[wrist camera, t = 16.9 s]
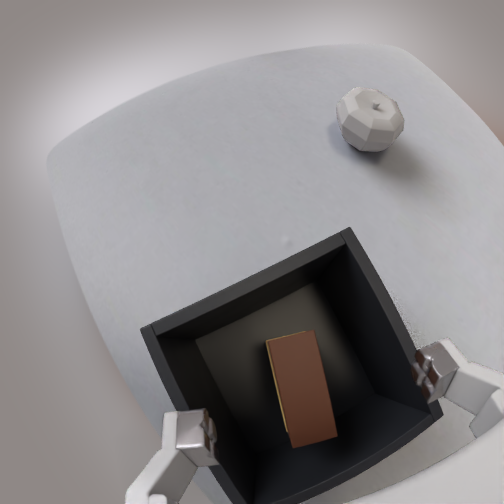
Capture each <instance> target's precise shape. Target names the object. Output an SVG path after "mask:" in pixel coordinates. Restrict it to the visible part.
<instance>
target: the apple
mask: <svg viewBox="0 0 504 504" xmlns="http://www.w3.org/2000/svg"><path fill="white" fill-rule="evenodd" d="M336 109H337V119H338V123H339V126H340V129H341V133H342V136H343V137H344V139H345V141H346V142H348V143H349V144H351V145H352V146H354V147H355V148H357V149H358V150H359V151H371V152H378V151H383V150H385V149H386V148H387V147H388V146H390V145H391V144H392V143H393V142H394V141H395V140H396V138H397V137H398V136H399V135H400V134H401V132H402V131H403V129H404V118H403V116H402V114H401V111H400V109H399V107H398V105H397V103H396V102H395V101H394V100H393V99H391V98H390V97H388V96H386V95H385V94H383V93H382V92H380V91H379V90H377V89H369V88H359V87H355V88H354V89H352V90H351V91H350V92H349V93H347V94H346V95H345V96H344V97H343V98H342V99H341V100H340V101H339V102H338V104H337V105H336Z"/></svg>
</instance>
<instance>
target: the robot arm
mask: <svg viewBox="0 0 504 504" xmlns="http://www.w3.org/2000/svg"><path fill="white" fill-rule="evenodd" d="M414 357H415V359H416V360H415V361H414V362H413V363H412V365H411V376H412V379H413V381H414V383H415V384H416V385H418V386H420V387H421V394H422V396H423V397H424V399H425V400H426V402H427V404H428V403H430V402H433V401H435V400H437V399H439V398H441V397H443V396H444V397H445V398H446V399H448V400H450V401H451V402H453V403H455V404H457V405H458V406H460V407H462V408H463V409H465V410H467V411H469V412H470V413H472V414H474V415H476V417H475V418H474V419H473V420H472V422H471V423H470V426H469V427H470V429H471V431H472V432H473V434H474V436H475V437H476V439H475V440H473V441H472V442H470V443H469V444H467V445H466V446H464V447H463V448H461V449H459V450H458V451H456V452H455V453H453V454H451V455H450V456H448V457H446V458H445V459H443V460H441V461H439V462H438V463H436V464H434V465H432V466H430V467H428V468H427V469H425V470H423V471H421V472H419V473H417V474H415V475H413V476H411V477H409V478H406V479H404V480H402V481H400V482H398V483H395V484H393V485H391V486H389V487H386V488H384V489H381V490H379V491H376V492H374V493H371V494H368V495H366V496H363V497H360V498H357V499H354V500H351V501H348V502H345V503H342V504H504V374H503V373H501V372H498V371H496V370H493V369H491V368H488V367H486V366H483V365H480V364H478V363H475V362H473V361H471V362H469V361H468V360H467V359H466V358H465V356H464V355H463V354H462V353H461V351H460V350H459V349H458V348H457V347H456V345H455V344H454V343H453V342H452V341H451V339H450V338H448V337H446V338H443V339H441V340H439V341H437V342H434V343H432V344H430V345H428V346H426V347H423V348H421V349H419V350H417V351H416V352H415V355H414ZM216 441H217V432H216V427H215V424H214V422H213V420H212V418H209V416H208V411H207V410H206V408H203V409H194V410H185V411H173V412H165V414H164V418H163V432H162V450H158V451H157V452H156V453H155V455H154V456H153V457H152V459H151V460H150V461H149V463H148V464H147V465H146V466H145V468H144V469H143V470H142V472H141V473H140V474H139V475H138V477H137V478H136V479H135V481H134V482H133V483H132V484H131V486H130V487H129V488H128V489H127V491H126V497H125V504H179V503H178V502H179V500H180V499H181V497H182V495H183V494H184V492H185V490H186V488H187V486H188V485H189V483H190V481H191V480H192V478H193V476H194V474H195V473H196V471H197V469H198V468H197V467H203V466H212V465H219V455H218V449H217V448H216V446H215V445H214V444H215V443H216Z"/></svg>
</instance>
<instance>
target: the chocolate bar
mask: <svg viewBox="0 0 504 504" xmlns="http://www.w3.org/2000/svg"><path fill="white" fill-rule="evenodd" d="M266 346H267V351H268V355H269V360H270V364H271V368H272V373H273V377H274V381H275V386H276V390H277V394H278V399H279V403H280V407H281V411H282V415H283V420H284V424H285V427H286V431H287V432H288V434H289V438H290V441H291V445H292V448H297V447H301V446H305V445H309V444H313V443H317V442H320V441H324V440H327V439H331V438H334V437H337V436H338V434H337V429H336V424H335V419H334V414H333V410H332V405H331V400H330V395H329V391H328V386H327V382H326V377H325V373H324V368H323V364H322V359H321V355H320V351H319V346H318V342H317V338H316V334H315V330H310V331H304V332H300V333H296V334H292V335H287V336H283V337H279V338H275V339H270V340H266Z"/></svg>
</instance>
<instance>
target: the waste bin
mask: <svg viewBox="0 0 504 504" xmlns="http://www.w3.org/2000/svg"><path fill="white" fill-rule="evenodd" d="M310 330H315V334H316V338H317V342H318V346H319V351H320V355H321V359H322V364H323V368H324V373H325V377H326V382H327V386H328V391H329V395H330V400H331V405H332V410H333V414H334V419H335V424H336V429H337V434H338V436H337V437H334V438H331V439H327V440H324V441H320V442H317V443H313V444H309V445H305V446H301V447H297V448H292V445H291V441H290V438H289V434H288V432H287V431H286V427H285V424H284V420H283V415H282V411H281V407H280V403H279V399H278V394H277V390H276V386H275V381H274V377H273V373H272V368H271V364H270V360H269V355H268V351H267V346H266V340H270V339H275V338H279V337H283V336H287V335H292V334H296V333H300V332H304V331H310ZM140 331H141V334H142V336H143V339H144V341H145V344H146V346H147V348H148V351H149V353H150V355H151V358H152V360H153V362H154V365H155V367H156V369H157V371H158V374H159V376H160V378H161V380H162V382H163V384H164V386H165V389H166V391H167V393H168V395H169V397H170V399H171V401H172V403H173V405H174V407H175V409H176V411H185V410H194V409H203V408H206V410H207V411H208V416H209V418H212V420H213V422H214V424H215V427H216V432H217V441H216V443H215V444H214V445H215V446H216V448H217V449H218V455H219V465H212V466H208V467H209V469H210V470H211V472H212V474H213V475H214V477H215V478H216V480H217V481H218V483H219V484H220V486H221V487H222V489H223V490H224V492H225V493H226V495H227V496H228V498H229V499H230V501H231V502H232V503H233V504H298V503H301V502H303V501H306V500H308V499H310V498H312V497H315V496H317V495H319V494H321V493H323V492H325V491H328V490H330V489H332V488H334V487H336V486H338V485H340V484H342V483H344V482H345V481H347V480H349V479H351V478H353V477H355V476H357V475H358V474H360V473H362V472H364V471H365V470H367V469H369V468H370V467H372V466H374V465H375V464H377V463H379V462H380V461H382V460H383V459H385V458H386V457H388V456H390V455H391V454H393V453H394V452H396V451H397V450H398V449H400V448H401V447H403V446H404V445H406V444H407V443H408V442H410V441H411V440H413V439H414V438H415V437H417V436H418V435H419V434H421V433H422V432H423V431H425V430H426V429H427V428H428V427H430V426H431V425H432V424H433V423H434V422H436V421H437V420H438V419H440V418H441V417H442V416H443V415H444V414H443V412H442V409H441V406H440V404H439V401H438V399H437V400H435V401H433V402H430V403H428V404H427V402H426V400H425V399H424V397H423V396H422V394H421V387H420V386H418V385H416V384H415V383H414V381H413V379H412V376H411V365H412V363H413V362H414V361H415V360H416V359H415V357H414V355H415V352H416V351H417V350H416V348H415V346H414V343H413V341H412V339H411V337H410V335H409V333H408V331H407V329H406V327H405V325H404V323H403V321H402V319H401V317H400V315H399V313H398V311H397V309H396V307H395V305H394V303H393V301H392V299H391V297H390V295H389V294H388V292H387V290H386V288H385V286H384V284H383V283H382V281H381V279H380V277H379V275H378V273H377V272H376V270H375V268H374V266H373V265H372V263H371V261H370V259H369V258H368V256H367V254H366V252H365V251H364V249H363V247H362V246H361V244H360V242H359V241H358V239H357V237H356V236H355V234H354V232H353V231H352V229H351V228H350V227H348V228H346V229H344V230H342V231H340V232H339V233H336V234H334V235H332V236H330V237H328V238H327V239H325V240H323V241H321V242H319V243H317V244H315V245H313V246H311V247H309V248H307V249H305V250H303V251H301V252H299V253H297V254H295V255H293V256H291V257H289V258H287V259H285V260H283V261H281V262H279V263H276V264H274V265H272V266H270V267H268V268H266V269H264V270H262V271H260V272H258V273H256V274H254V275H252V276H250V277H248V278H246V279H244V280H242V281H240V282H238V283H236V284H233V285H231V286H229V287H227V288H225V289H223V290H221V291H219V292H217V293H215V294H213V295H211V296H208V297H206V298H204V299H202V300H200V301H198V302H196V303H194V304H192V305H189V306H187V307H185V308H183V309H181V310H179V311H177V312H175V313H172V314H170V315H168V316H166V317H164V318H162V319H160V320H157V321H155V322H153V323H152V324H149V325H147V326H145V327H142V328H141V329H140Z"/></svg>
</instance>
